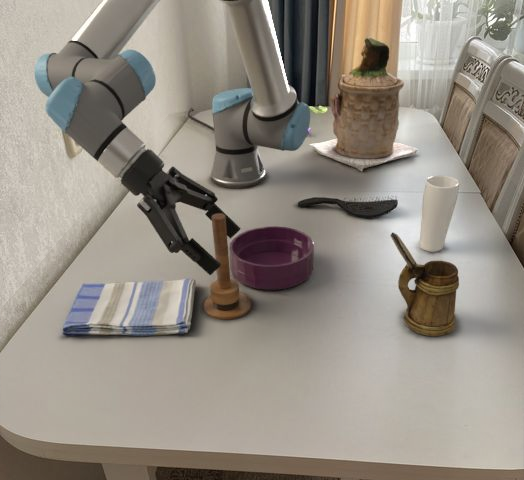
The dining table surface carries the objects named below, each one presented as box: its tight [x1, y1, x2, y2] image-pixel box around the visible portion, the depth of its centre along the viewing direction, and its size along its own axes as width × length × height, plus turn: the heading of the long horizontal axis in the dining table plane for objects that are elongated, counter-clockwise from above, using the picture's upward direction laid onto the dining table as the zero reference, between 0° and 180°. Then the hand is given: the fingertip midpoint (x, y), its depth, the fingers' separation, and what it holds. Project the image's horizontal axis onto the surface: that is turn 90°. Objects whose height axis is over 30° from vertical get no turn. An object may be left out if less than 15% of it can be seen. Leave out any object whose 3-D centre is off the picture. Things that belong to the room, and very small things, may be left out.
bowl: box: [228, 225, 315, 291], centre depth 114 cm, size 17×17×6 cm
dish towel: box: [62, 278, 197, 337], centre depth 104 cm, size 17×24×3 cm
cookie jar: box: [309, 37, 418, 172], centre depth 160 cm, size 25×25×32 cm
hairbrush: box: [297, 195, 399, 219], centre depth 137 cm, size 8×4×25 cm
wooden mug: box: [390, 232, 460, 337], centre depth 94 cm, size 9×14×18 cm, turn 88°
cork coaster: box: [203, 291, 252, 321], centre depth 105 cm, size 9×9×1 cm
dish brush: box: [209, 213, 240, 311], centre depth 100 cm, size 5×5×18 cm
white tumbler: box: [418, 175, 460, 253], centre depth 117 cm, size 7×7×15 cm
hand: (226, 250), depth 98 cm, fingers open, 13 cm apart
